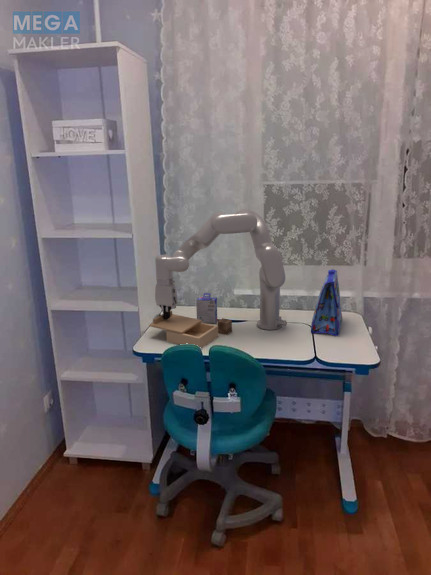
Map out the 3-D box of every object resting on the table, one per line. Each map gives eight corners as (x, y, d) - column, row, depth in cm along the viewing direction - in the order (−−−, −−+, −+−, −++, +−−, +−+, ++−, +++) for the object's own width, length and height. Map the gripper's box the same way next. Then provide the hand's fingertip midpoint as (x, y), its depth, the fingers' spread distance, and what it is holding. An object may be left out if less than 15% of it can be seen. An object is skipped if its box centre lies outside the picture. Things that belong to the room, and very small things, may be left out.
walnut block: (231, 331, 223) (231, 319, 222) (226, 335, 219) (226, 323, 218) (222, 329, 226) (222, 318, 224) (217, 333, 222) (217, 321, 220)
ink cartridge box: (217, 319, 238) (217, 292, 234) (215, 323, 233) (215, 296, 229) (199, 318, 240) (198, 292, 236) (196, 322, 235) (195, 295, 231)
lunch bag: (339, 336, 215) (343, 277, 206) (309, 333, 219) (312, 274, 210) (342, 320, 234) (346, 264, 226) (315, 317, 239) (318, 262, 230)
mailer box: (218, 336, 218) (218, 326, 216) (199, 349, 205) (199, 338, 203) (186, 329, 227) (186, 319, 225) (166, 341, 214) (166, 330, 212)
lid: (201, 321, 221) (201, 315, 220) (181, 333, 208) (181, 327, 207) (170, 315, 230) (170, 309, 229) (149, 326, 217) (149, 319, 216)
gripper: (182, 281, 215) (184, 318, 220) (157, 277, 222) (159, 313, 228) (173, 286, 208) (175, 324, 214) (147, 281, 216) (149, 318, 222)
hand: (166, 318), depth 221 cm, fingers closed
